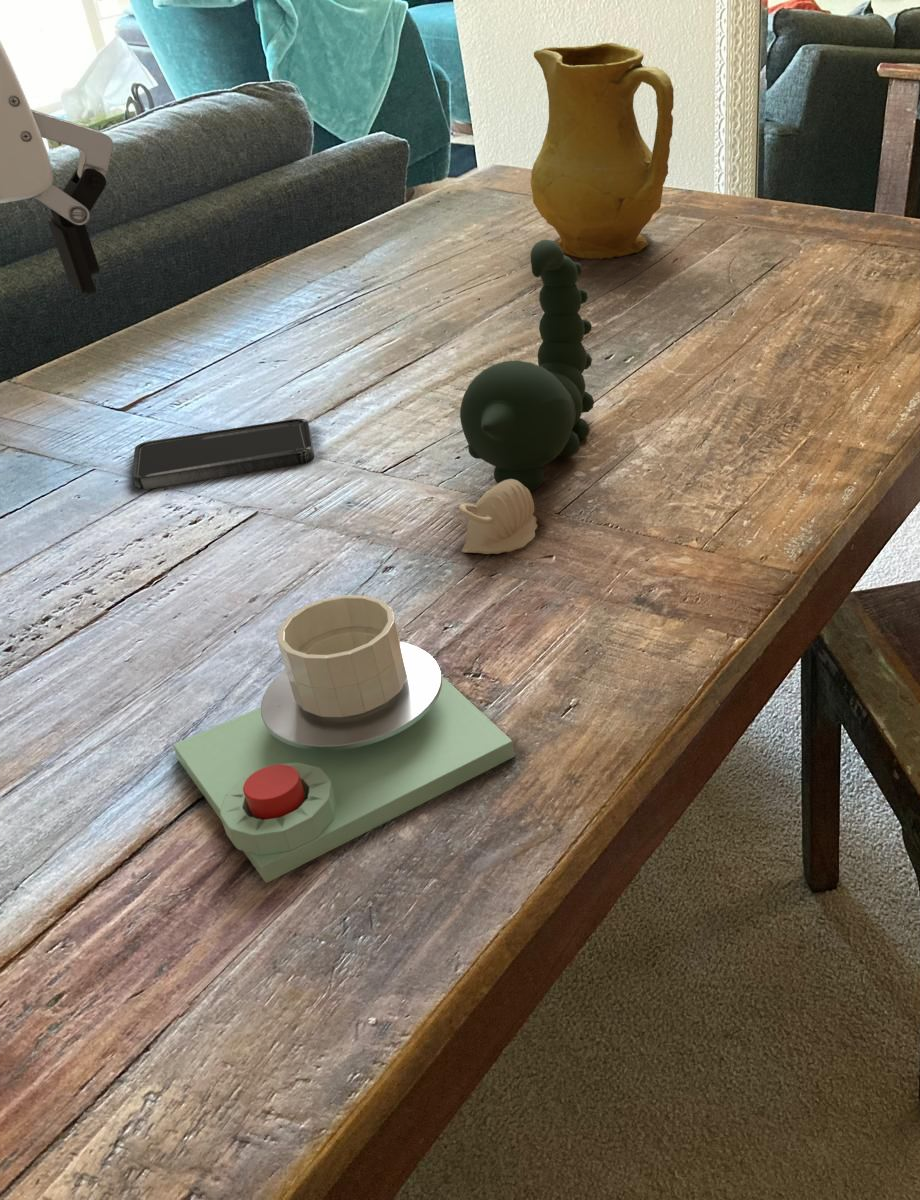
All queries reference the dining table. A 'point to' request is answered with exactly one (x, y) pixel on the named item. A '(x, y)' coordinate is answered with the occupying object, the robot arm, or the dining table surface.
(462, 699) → the scale
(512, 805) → the dining table surface
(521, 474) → the toy figurine
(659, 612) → the dining table surface
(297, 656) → the bowl
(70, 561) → the dining table surface
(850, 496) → the dining table surface
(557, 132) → the pitcher
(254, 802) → the tare button
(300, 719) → the scale pan
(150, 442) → the phone
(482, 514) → the decorative ornament
